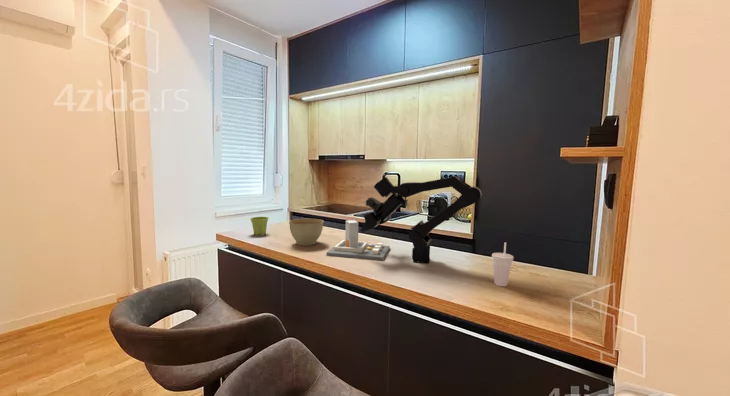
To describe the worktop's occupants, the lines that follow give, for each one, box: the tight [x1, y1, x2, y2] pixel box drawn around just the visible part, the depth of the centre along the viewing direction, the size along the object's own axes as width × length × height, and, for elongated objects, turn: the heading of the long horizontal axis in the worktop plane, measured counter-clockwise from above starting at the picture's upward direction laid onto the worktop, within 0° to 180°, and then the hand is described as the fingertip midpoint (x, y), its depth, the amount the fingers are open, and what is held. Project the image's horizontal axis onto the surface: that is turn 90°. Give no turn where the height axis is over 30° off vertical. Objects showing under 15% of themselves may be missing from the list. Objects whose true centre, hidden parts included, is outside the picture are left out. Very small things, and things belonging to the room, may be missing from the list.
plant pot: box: [249, 216, 270, 236], centre depth 161 cm, size 9×9×9 cm
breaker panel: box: [325, 239, 390, 261], centre depth 131 cm, size 24×18×3 cm
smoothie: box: [491, 242, 514, 288], centre depth 96 cm, size 6×6×14 cm
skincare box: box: [344, 219, 359, 248], centre depth 132 cm, size 6×4×12 cm
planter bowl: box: [288, 218, 324, 246], centre depth 143 cm, size 16×16×11 cm
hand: (365, 229), depth 129 cm, fingers open, 9 cm apart
